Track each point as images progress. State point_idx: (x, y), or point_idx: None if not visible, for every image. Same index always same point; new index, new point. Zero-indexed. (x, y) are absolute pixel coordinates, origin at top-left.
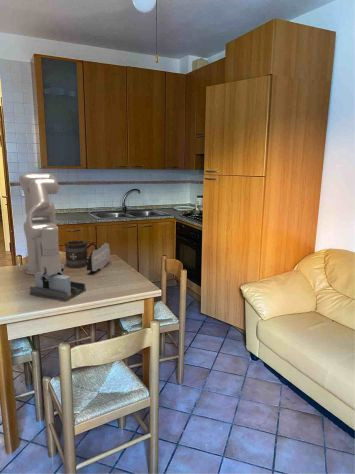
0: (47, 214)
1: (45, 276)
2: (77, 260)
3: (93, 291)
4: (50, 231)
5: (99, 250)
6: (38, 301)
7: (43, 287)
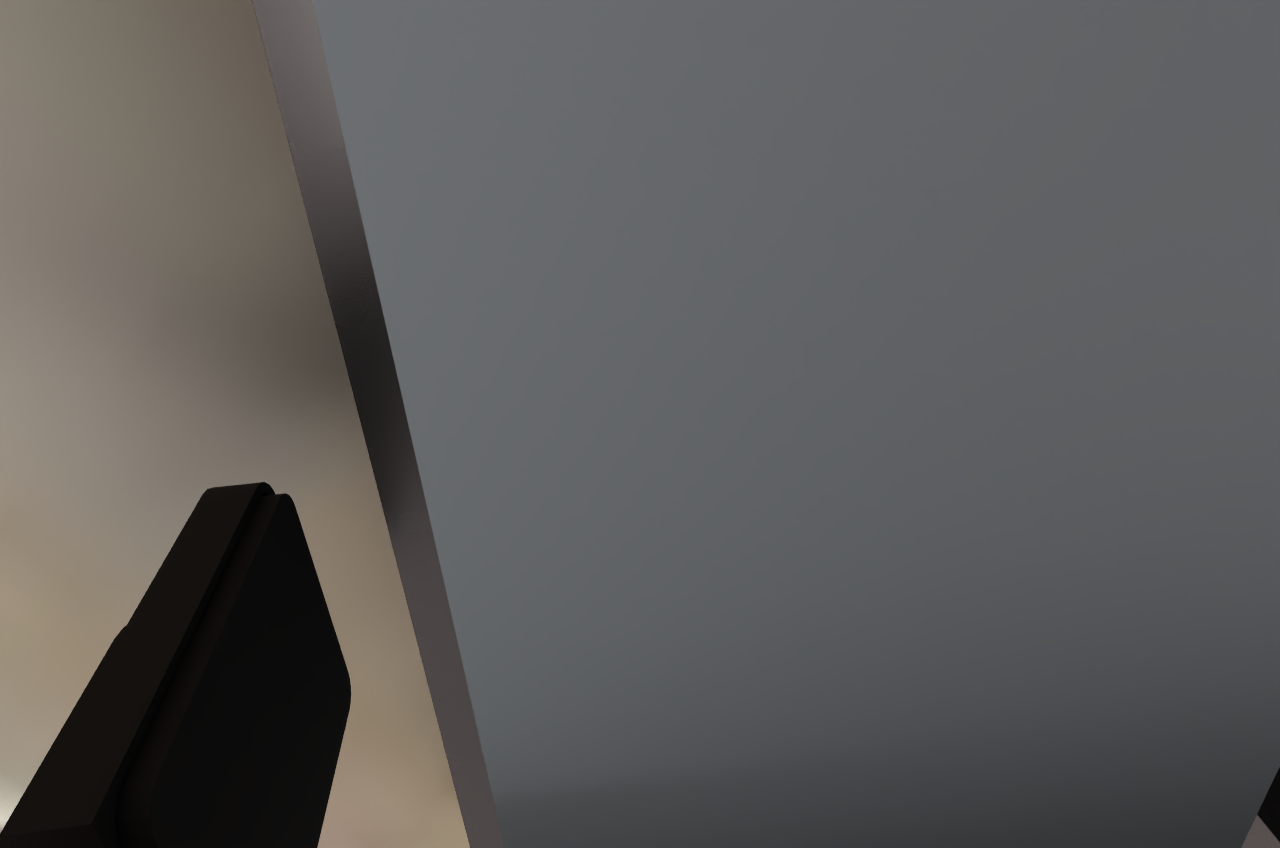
0: None
1: (496, 788)
2: None
3: None
4: None
5: None
6: (62, 331)
7: (211, 515)
